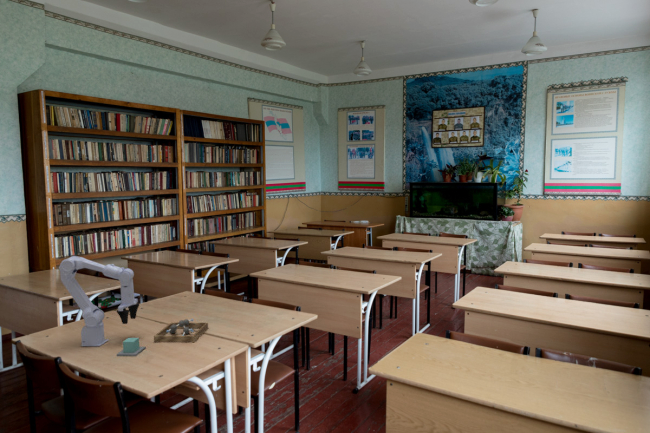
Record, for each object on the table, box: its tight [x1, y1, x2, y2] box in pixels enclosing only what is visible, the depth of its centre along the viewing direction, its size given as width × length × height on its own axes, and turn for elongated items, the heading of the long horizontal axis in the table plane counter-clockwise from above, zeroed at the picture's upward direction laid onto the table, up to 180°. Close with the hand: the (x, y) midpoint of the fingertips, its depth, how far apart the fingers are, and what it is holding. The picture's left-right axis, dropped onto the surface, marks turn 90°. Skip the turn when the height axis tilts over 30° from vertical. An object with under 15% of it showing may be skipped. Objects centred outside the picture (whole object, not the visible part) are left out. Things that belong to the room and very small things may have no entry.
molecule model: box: [166, 318, 194, 336], centre depth 223 cm, size 15×9×11 cm
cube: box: [122, 337, 140, 353], centre depth 199 cm, size 5×5×5 cm
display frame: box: [153, 321, 209, 343], centre depth 220 cm, size 20×20×3 cm
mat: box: [116, 346, 147, 357], centre depth 199 cm, size 9×9×1 cm
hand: (129, 321), depth 213 cm, fingers open, 7 cm apart
